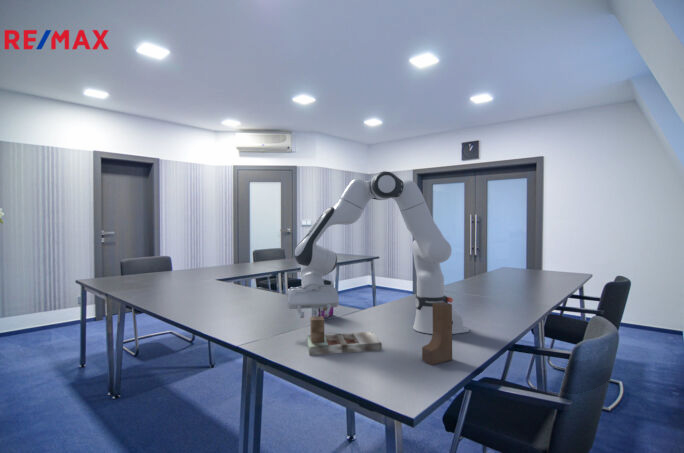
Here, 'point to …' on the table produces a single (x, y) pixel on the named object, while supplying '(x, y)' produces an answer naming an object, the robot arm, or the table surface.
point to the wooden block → (440, 335)
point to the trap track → (344, 343)
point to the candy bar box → (321, 312)
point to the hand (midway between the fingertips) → (314, 316)
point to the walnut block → (317, 329)
